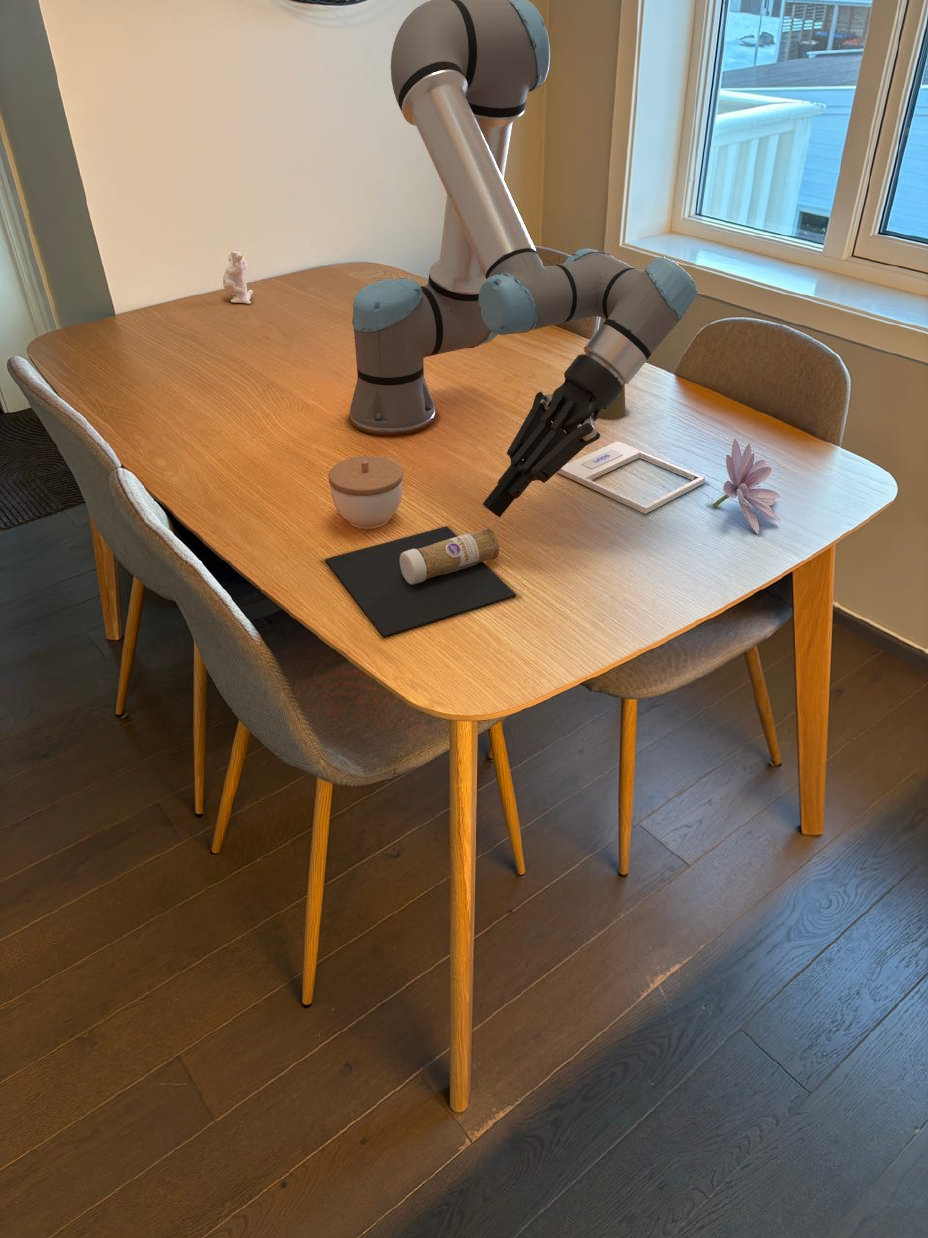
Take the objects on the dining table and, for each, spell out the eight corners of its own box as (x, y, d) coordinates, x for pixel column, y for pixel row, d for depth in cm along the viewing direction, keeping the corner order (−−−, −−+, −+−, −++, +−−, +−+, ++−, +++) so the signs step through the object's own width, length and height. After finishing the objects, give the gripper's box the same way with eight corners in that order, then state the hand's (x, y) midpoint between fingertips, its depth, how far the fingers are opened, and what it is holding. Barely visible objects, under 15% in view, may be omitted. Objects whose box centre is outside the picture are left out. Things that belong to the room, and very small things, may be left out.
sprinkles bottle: (503, 543, 126) (416, 570, 120) (496, 565, 130) (411, 592, 124) (487, 519, 128) (400, 545, 122) (480, 541, 132) (396, 567, 126)
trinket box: (333, 502, 143) (328, 446, 138) (403, 499, 144) (400, 443, 138) (331, 539, 135) (325, 480, 129) (406, 535, 135) (403, 477, 130)
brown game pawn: (624, 420, 167) (630, 360, 161) (590, 417, 168) (595, 358, 162) (626, 406, 172) (632, 348, 166) (593, 404, 173) (598, 346, 167)
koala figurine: (259, 304, 221) (252, 251, 214) (231, 308, 219) (223, 254, 212) (250, 294, 227) (243, 242, 220) (223, 297, 225) (215, 245, 218)
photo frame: (617, 439, 158) (705, 476, 147) (617, 445, 159) (704, 482, 148) (558, 466, 150) (646, 507, 139) (557, 472, 151) (645, 513, 140)
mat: (325, 561, 130) (325, 558, 130) (446, 528, 137) (446, 526, 137) (383, 638, 116) (383, 635, 115) (516, 596, 123) (516, 594, 122)
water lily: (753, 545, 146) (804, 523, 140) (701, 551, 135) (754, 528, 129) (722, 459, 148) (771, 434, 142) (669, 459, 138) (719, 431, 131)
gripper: (647, 402, 120) (532, 545, 124) (590, 369, 130) (484, 502, 133) (617, 369, 115) (498, 519, 119) (560, 337, 125) (451, 477, 128)
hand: (491, 510), depth 126 cm, fingers closed
